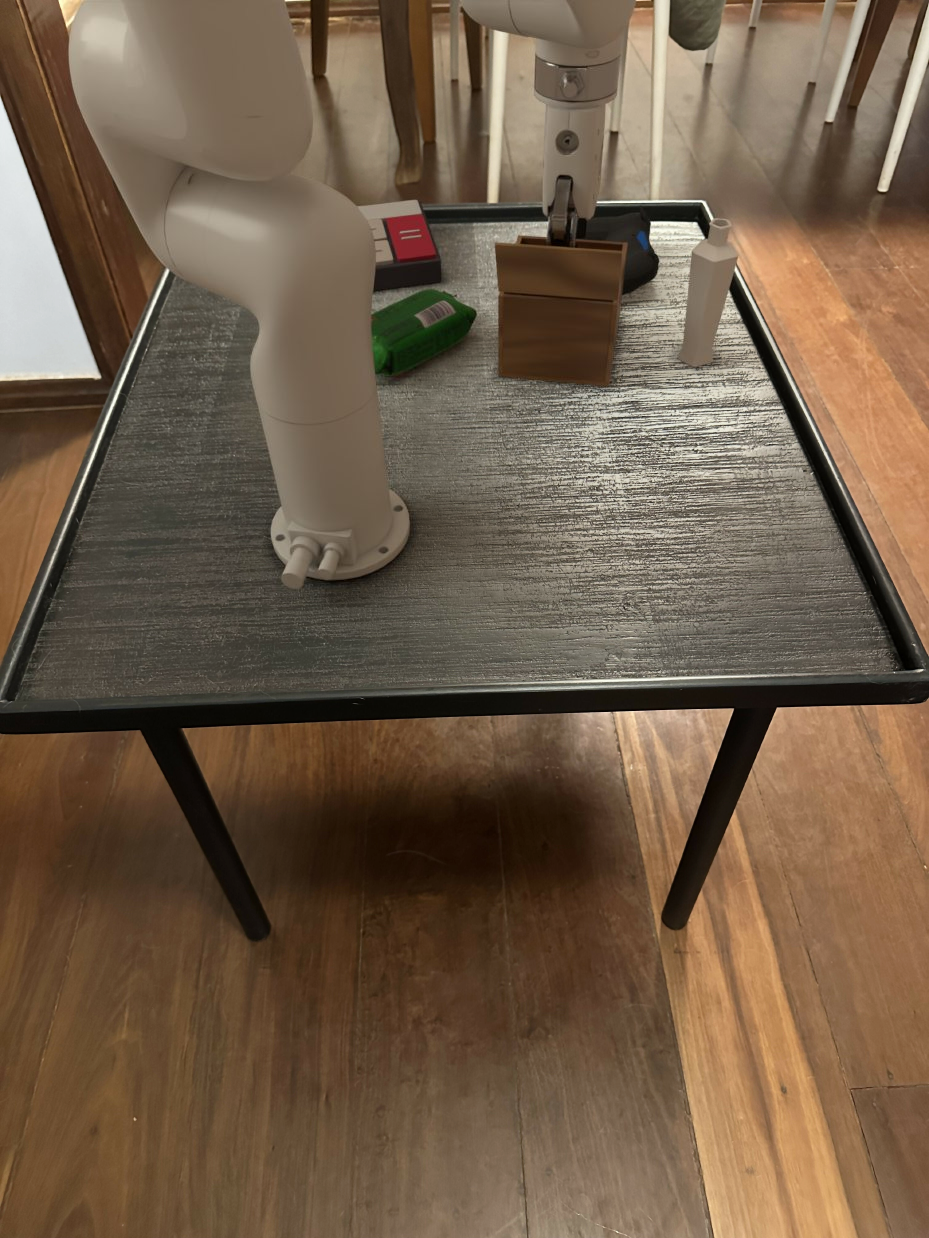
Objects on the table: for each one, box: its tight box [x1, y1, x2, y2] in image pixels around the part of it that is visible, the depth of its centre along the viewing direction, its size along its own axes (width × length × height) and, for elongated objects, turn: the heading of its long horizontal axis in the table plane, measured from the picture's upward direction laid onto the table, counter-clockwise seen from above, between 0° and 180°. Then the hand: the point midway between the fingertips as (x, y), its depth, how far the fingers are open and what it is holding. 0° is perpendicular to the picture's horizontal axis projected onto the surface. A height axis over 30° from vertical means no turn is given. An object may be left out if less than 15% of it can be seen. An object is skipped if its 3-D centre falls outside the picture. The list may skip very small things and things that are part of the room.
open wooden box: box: [497, 234, 628, 387], centre depth 99 cm, size 13×12×10 cm
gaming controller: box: [576, 205, 660, 296], centre depth 111 cm, size 17×6×10 cm
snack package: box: [371, 288, 478, 377], centre depth 101 cm, size 7×16×5 cm, turn 131°
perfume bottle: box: [676, 217, 740, 368], centre depth 95 cm, size 5×4×15 cm
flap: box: [494, 242, 622, 301], centre depth 88 cm, size 6×12×1 cm
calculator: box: [357, 199, 443, 292], centre depth 116 cm, size 11×4×15 cm
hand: (564, 258), depth 95 cm, fingers open, 9 cm apart
